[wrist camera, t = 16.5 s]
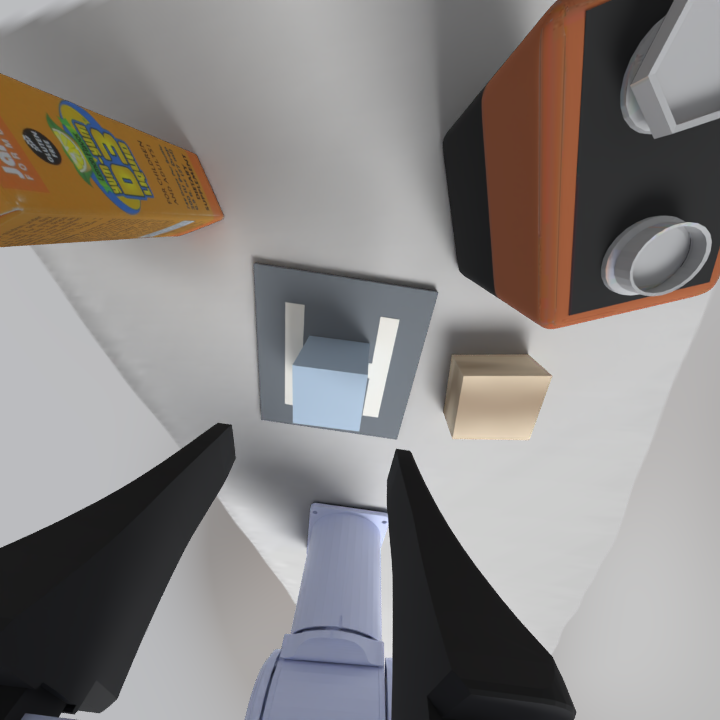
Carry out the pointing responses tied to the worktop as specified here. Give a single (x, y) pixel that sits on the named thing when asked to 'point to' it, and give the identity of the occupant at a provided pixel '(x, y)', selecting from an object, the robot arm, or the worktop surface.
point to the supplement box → (90, 176)
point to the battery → (594, 162)
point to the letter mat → (340, 337)
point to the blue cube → (330, 383)
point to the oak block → (494, 396)
